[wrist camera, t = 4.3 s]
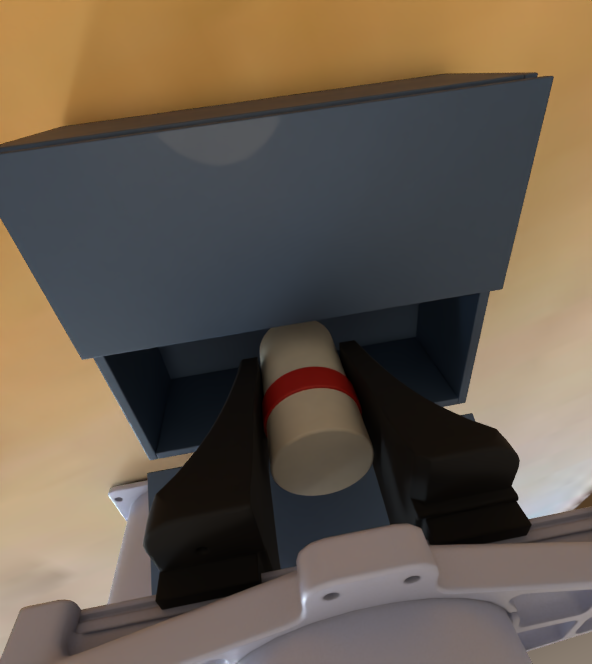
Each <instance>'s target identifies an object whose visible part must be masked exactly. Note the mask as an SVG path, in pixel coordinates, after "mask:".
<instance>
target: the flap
mask: <svg viewBox="0 0 592 664" xmlns="http://www.w3.org/2000/svg"><path fill="white" fill-rule="evenodd" d="M460 416H463V417H465V418H467V419H470V420H472V421H475V419H474V416H473V414H472V413H470V414H465V415H460ZM181 468H182V467H178V468H172V469H167V470H161V471H156V472H150V473H147V479H148V507H149V512H150V509H151V506H152V503H153V500H154V497H155V495H156V493H157V492H159V491H160V490H161V489H162V488H163V487H164V486H165V485H166V484H167V483H168V482H169V481H170V480H171V479H172V478H173V477H174V476H175V475H176V474H177V473H178V471H179V470H180V469H181ZM269 474H270V484H271V493H272V502H273V511H274V520H275V528H276V536H277V545H278V553H279V561H280V568H281V569H285V568H290V567H295V566H297V565H296V560H297V557H298V553H299V552H300V551H301V550H302V549H303V548H304V547H306V546H307V545H308V544H310V543H311V542H314V541H317V540H320V539H323V538H327V537H332V536H337V535H342V534H347V533H352V532H357V531H362V530H367V529H372V528H377V527H382V526H387V525H390V522H389V519H388V515H387V512H386V508H385V504H384V501H383V498H382V494H381V491H380V487H379V484H378V481H377V477H376V474H375V471H374V468H373V464H372V465H371V467H370V469H369V470H368V472H367V473H366V474H365V475H364V476H363V477H362V478H361V479H360V480H358V481H357V482H356V483H354V484H352V485H351V486H349V487H347V488H345V489H342V490H340V491H337V492H334V493H330V494H325V495H317V496H306V495H298V494H294V493H291V492H288V491H286V490H284V489H282V488H281V487H280V486H279V485H278V484H277V483H276V482H275V481H274V479H273V477H272V475H271V470H270V460H269ZM150 563H151V591H152V595H156V593H157V586H158V579H159V573H160V571H159V569H158V568H157V567H156V565H155V564H154V563H153V561H152V560H151V558H150Z"/></svg>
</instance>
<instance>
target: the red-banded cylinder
mask: <svg viewBox="0 0 592 664" xmlns="http://www.w3.org/2000/svg"><path fill="white" fill-rule="evenodd" d="M259 352H260V363H261V373H262V384H263V395H264V397H263V401H262V416H263V427H264V432H265V435H266V437H267V438H268V449H269V460H270V470H271V475H272V477H273V479H274V481H275V482H276V483H277V484H278V485H279V486H280V487H281V488H282V489H284V490H286V491H288V492H291V493H294V494H298V495H306V496H317V495H325V494H330V493H334V492H337V491H340V490H342V489H345V488H347V487H349V486H351V485H352V484H354V483H356V482H357V481H358V480H360V479H361V478H362V477H363V476H364V475H365V474H366V473H367V472H368V470H369V469H370V467H371V465H372V463H373V459H374V449H373V446H372V443H371V440H370V438H369V435H368V432H367V430H366V427H365V424H364V422H363V419H362V409H361V405H360V403H359V400H358V397H357V395H356V392H355V390H354V387H353V385H352V383H351V382H350V380H349V379H348V378H347V376H346V374H345V371H344V369H343V366H342V363H341V361H340V358H339V355H338V353H337V350H336V347H335V345H334V342H333V339H332V337H331V334H330V332H329V331H328V330H327V328H326V327H325V326H323V325H322V324H321V323H319V322H317V321H309V322H303V323H297V324H292V325H286V326H280V327H274V328H270V329H269V330H268V331H267V333H266V334H265V335H264V337H263V339H262V341H261V344H260V351H259Z"/></svg>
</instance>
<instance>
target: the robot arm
mask: <svg viewBox="0 0 592 664" xmlns="http://www.w3.org/2000/svg"><path fill="white" fill-rule="evenodd" d="M339 348H340V361H341V363H342V366H343V369H344V371H345V374H346V376H347V378H348V379H349V380H350V382H351V383H352V385H353V387H354V390H355V392H356V395H357V397H358V400H359V403H360V405H361V409H362V419H363V422H364V424H365V427H366V430H367V432H368V435H369V438H370V440H371V443H372V446H373V449H374V459H373V463H372V464H373V468H374V471H375V474H376V477H377V481H378V484H379V487H380V491H381V494H382V498H383V501H384V504H385V508H386V512H387V515H388V519H389V522H390V525H387V526H382V527H377V528H372V529H367V530H362V531H357V532H352V533H347V534H342V535H337V536H332V537H327V538H323V539H320V540H317V541H314V542H311V543H310V544H308V545H307V546H306V547H304V548H303V549H302V550H301V551H300V552H299V553H298V557H297V560H296V565H297V566H295V567H290V568H285V569H281V568H280V561H279V553H278V545H277V536H276V528H275V520H274V511H273V502H272V493H271V484H270V474H269V449H268V438H267V437H266V435H265V432H264V427H263V416H262V401H263V397H264V395H263V384H262V375H261V371H260V366H259V362H258V357H253V358H248V359H242V360H241V362H240V364H239V368H238V372H237V375H236V378H235V381H234V383H233V386H232V388H231V391H230V393H229V396H228V398H227V400H226V402H225V404H224V406H223V408H222V410H221V412H220V414H219V416H218V418H217V419H216V421H215V423H214V425H213V426H212V428H211V429H210V431H209V433H208V434H207V436H206V437H205V439H204V440H203V441H202V443H201V444H200V446H199V447H198V448H197V450H196V451H195V452H194V454H193V455H192V456H191V457H190V458H189V460H188V461H187V462H186V463H185V464H184V466H183V467H182V468H181V469H180V470H179V471H178V473H177V474H176V475H175V476H174V477H173V478H172V479H171V480H170V481H169V482H168V483H167V484H166V485H165V486H164V487H163V488H162V489H161V490H160V491H159V492H157V493H156V495H155V497H154V500H153V503H152V506H151V509H150V512H149V507H148V480H147V481H141V482H136V483H130V484H125V485H120V486H114V487H112V488H110V490H109V493H108V495H109V497H110V499H111V500H112V501H113V503H114V504H115V506H116V507H117V508H118V510H119V511H120V512H121V514H122V515H123V517H124V518H125V519H126V521H127V525H126V529H125V533H124V537H123V542H122V546H121V550H120V554H119V558H118V562H117V566H116V571H115V575H114V579H113V583H112V587H111V591H110V596H109V600H108V604H107V605H103V606H98V607H93V608H88V609H83V610H81V609H80V608H79V606H78V605H77V604H76V603H75V602H73V601H71V600H57V601H52V602H47V603H42V604H37V605H32V606H27V607H24V608H22V609H21V610H20V612H19V614H18V617H17V619H16V622H15V624H14V627H13V629H12V632H11V634H10V637H9V639H8V642H7V644H6V647H5V649H4V652H3V654H2V657H1V659H0V664H533V663H532V661H531V659H530V657H529V655H528V654H527V651H531V650H534V649H537V648H540V647H543V646H547V645H550V644H553V643H556V642H560V641H563V640H565V639H569V638H572V637H575V636H578V635H582V634H585V633H588V632H592V507H587V508H582V509H577V510H572V511H567V512H562V513H557V514H552V515H547V516H542V517H537V518H533V519H528V518H527V517H526V515H525V514H524V512H523V511H522V509H521V508H520V506H519V505H518V503H517V502H516V501H518V495H517V493H516V492H515V491H514V489H513V488H512V483H513V480H514V478H515V475H516V473H517V470H518V467H519V462H520V460H519V457H518V455H517V453H516V452H515V451H514V449H513V448H512V447H511V445H510V444H509V443H508V441H507V440H506V439H505V438H504V437H503V436H502V435H501V434H500V433H499V431H498V430H497V429H495V428H492V427H489V426H486V425H484V424H481V423H478V422H475V421H472V420H470V419H467V418H465V417H463V416H460V415H458V414H456V413H453V412H451V411H449V410H447V409H445V408H443V407H441V406H439V405H437V404H435V403H434V402H432V401H430V400H428V399H426V398H425V397H423V396H421V395H420V394H418V393H416V392H415V391H413V390H412V389H410V388H409V387H407V386H406V385H405V384H403V383H402V382H401V381H399V380H398V379H397V378H395V377H394V376H393V375H392V374H390V373H389V372H388V371H387V370H386V369H384V368H383V367H382V366H381V365H380V364H379V363H378V362H376V361H375V360H374V359H373V358H372V357H371V356H370V355H369V354H368V353H367V352H366V351H365V350H364V349H363V348H362V347H361V346H360V345H359V344H358V343H357V342H356V341H355V340H352V341H346V342H340V343H339ZM150 558H151V560H152V561H153V563H154V564H155V565H156V567H157V568H158V569H159V571H160V573H159V579H158V586H157V593H156V595H152V591H151V563H150Z"/></svg>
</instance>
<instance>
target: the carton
mask: <svg viewBox="0 0 592 664" xmlns="http://www.w3.org/2000/svg"><path fill="white" fill-rule="evenodd" d="M537 75H538V73H463V74H440V75H433V76H425V77H418V78H411V79H404V80H396V81H389V82H382V83H375V84H367V85H360V86H353V87H346V88H338V89H331V90H324V91H317V92H309V93H302V94H295V95H288V96H280V97H273V98H266V99H259V100H251V101H244V102H237V103H230V104H222V105H215V106H208V107H201V108H193V109H186V110H179V111H172V112H164V113H157V114H150V115H143V116H135V117H128V118H121V119H114V120H106V121H99V122H92V123H85V124H77V125H70V126H63V127H59V128H55V129H52V130H48V131H45V132H41V133H38V134H34V135H31V136H27V137H24V138H20V139H17V140H14V141H10V142H7V143H3V144H0V218H1V220H2V222H3V223H4V225H5V227H6V228H7V230H8V232H9V234H10V235H11V237H12V239H13V241H14V242H15V244H16V246H17V248H18V249H19V251H20V253H21V255H22V256H23V258H24V260H25V261H26V263H27V265H28V267H29V268H30V270H31V272H32V274H33V275H34V277H35V279H36V281H37V282H38V284H39V286H40V288H41V289H42V291H43V293H44V294H45V296H46V298H47V300H48V301H49V303H50V305H51V307H52V308H53V310H54V312H55V314H56V315H57V317H58V319H59V321H60V322H61V324H62V326H63V327H64V329H65V331H66V333H67V334H68V336H69V338H70V340H71V341H72V343H73V345H74V347H75V348H76V350H77V352H78V354H79V355H80V357H81V359H82V360H83V359H89V358H94V360H95V362H96V364H97V366H98V367H99V369H100V371H101V373H102V375H103V376H104V378H105V380H106V382H107V384H108V386H109V387H110V389H111V391H112V393H113V395H114V396H115V398H116V400H117V402H118V404H119V405H120V407H121V409H122V411H123V413H124V415H125V416H126V418H127V420H128V422H129V424H130V425H131V427H132V429H133V431H134V433H135V435H136V436H137V438H138V440H139V442H140V444H141V445H142V447H143V449H144V451H145V453H146V454H147V456H148V458H149V460H154V459H158V458H159V459H160V458H165V457H171V456H176V455H181V454H187V453H192V452H195V451H196V450H197V448H198V447H199V446H200V444H201V443H202V441H203V440H204V439H205V437H206V436H207V434H208V433H209V431H210V429H211V428H212V426H213V425H214V423H215V421H216V419H217V418H218V416H219V414H220V412H221V410H222V408H223V406H224V404H225V402H226V400H227V398H228V396H229V393H230V391H231V388H232V386H233V383H234V381H235V378H236V375H237V372H238V368H239V364H240V362H241V360H242V359H248V358H253V357H258V362H259V366H260V371H261V363H260V352H259V351H260V344H261V341H262V339H263V337H264V335H265V334H266V333H267V331H268V330H269V329H270V328H274V327H280V326H286V325H292V324H297V323H303V322H309V321H317V322H319V323H321V324H322V325H323V326H325V327H326V328H327V330H328V331H329V332H330V334H331V337H332V339H333V342H334V345H335V347H336V350H337V353H338V355H339V358H340V348H339V343H340V342H346V341H352V340H355V341H356V342H357V343H358V344H359V345H360V346H361V347H362V348H363V349H364V350H365V351H366V352H367V353H368V354H369V355H370V356H371V357H372V358H373V359H374V360H375V361H376V362H378V363H379V364H380V365H381V366H382V367H383V368H384V369H386V370H387V371H388V372H389V373H390V374H392V375H393V376H394V377H395V378H397V379H398V380H399V381H401V382H402V383H403V384H405V385H406V386H407V387H409V388H410V389H412V390H413V391H415V392H416V393H418V394H420V395H421V396H423V397H425V398H426V399H428V400H430V401H432V402H434V403H435V404H437V405H439V406H441V407H444V406H450V405H455V404H460V403H465V402H466V397H467V393H468V388H469V384H470V379H471V374H472V370H473V365H474V361H475V356H476V352H477V347H478V343H479V338H480V334H481V329H482V325H483V320H484V316H485V311H486V306H487V302H488V297H489V293H490V291H494V290H500V289H502V288H503V284H504V280H505V276H506V272H507V268H508V264H509V260H510V255H511V251H512V247H513V243H514V239H515V235H516V231H517V227H518V222H519V218H520V214H521V210H522V206H523V202H524V198H525V193H526V189H527V185H528V181H529V177H530V173H531V169H532V165H533V160H534V156H535V152H536V148H537V144H538V140H539V136H540V131H541V127H542V123H543V119H544V115H545V111H546V107H547V103H548V98H549V94H550V90H551V86H552V82H553V78H554V77H553V76H543V77H537ZM261 375H262V373H261Z"/></svg>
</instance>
